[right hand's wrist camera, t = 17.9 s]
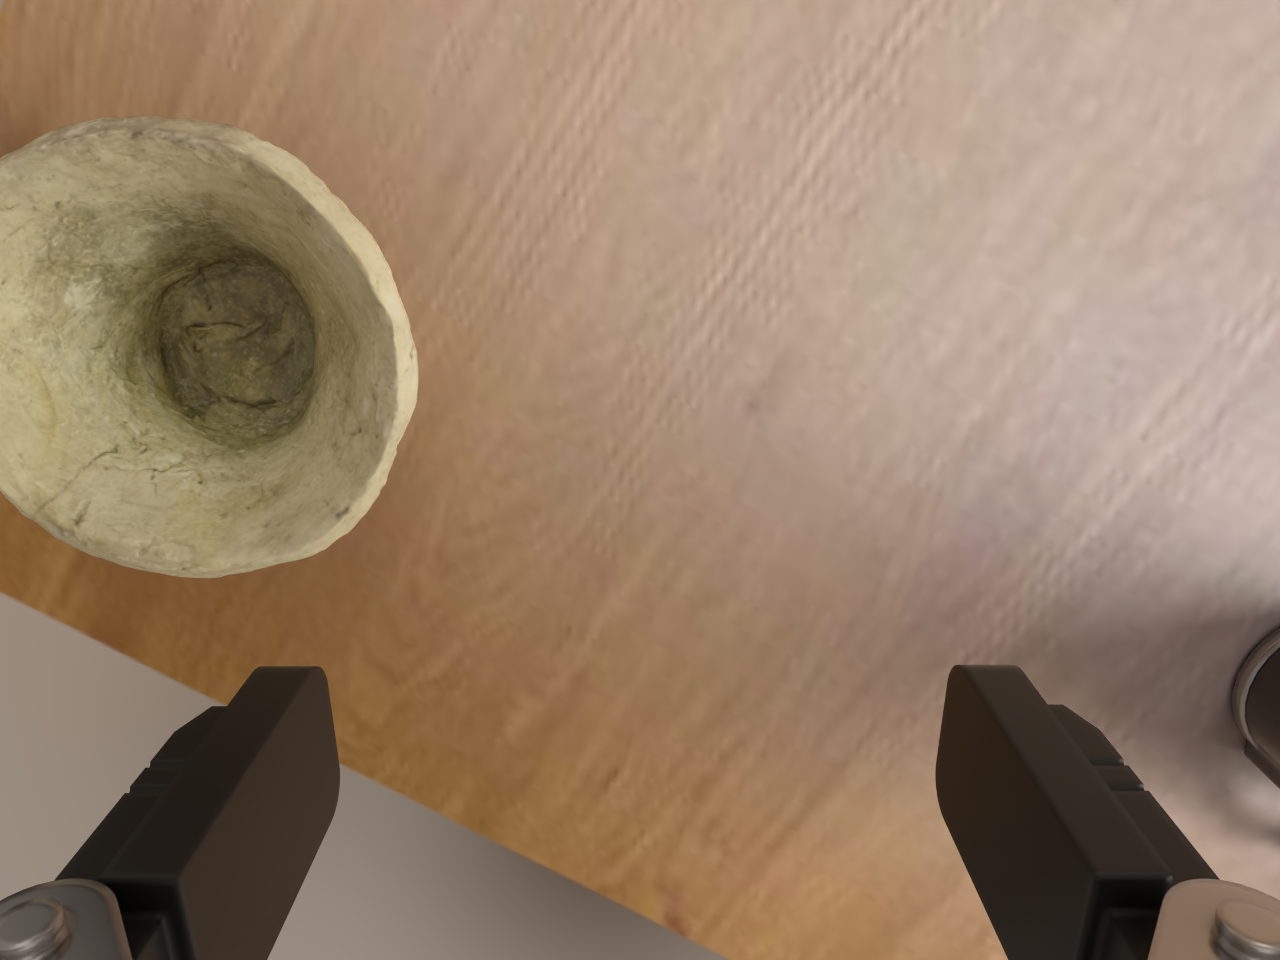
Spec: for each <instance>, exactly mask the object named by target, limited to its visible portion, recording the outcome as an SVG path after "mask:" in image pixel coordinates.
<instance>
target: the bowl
mask: <svg viewBox="0 0 1280 960" xmlns="http://www.w3.org/2000/svg"><path fill="white" fill-rule="evenodd" d="M417 389H418V363H417V351H416V347H415V344H414V341H413V339H412V334H411V330H410V323H409V320H408V317H407V314H406V311H405V309H404V306H403V303H402V301H401V298H400V296H399V294H398V291H397V287H396V284H395V282H394V280H393V277H392V272H391V269H390V267H389V265H388V263H387V262H386V260H385V258H384V256H383V254H382V252H381V250H380V248H379V246H378V244H377V243H376V241H375V240H374V238H373V237H372V235H371V234H370V233H369V231H368V230H367V229H366V228H365V226H364V225H363V224H362V223H361V222H360V221H359V220H358V219H357V218H356V217H355V216H354V215H352V214H351V212H350V211H349V209H348V207H347V206H346V205H345V204H344V203H343V202H342V201H341V200H340V199H339V198H338V197H336V196H335V195H334V194H332V193H331V192H330V191H329V189H328V188H327V186H326V185H325V183H324V182H323V181H322V180H321V179H320V178H318V177H317V176H315V175H314V174H313V173H312V172H311V171H310V170H309V168H308V167H307V166H306V165H305V164H304V163H303V162H301V161H300V160H299V159H298V158H296V157H295V156H293V155H291V154H290V153H288V152H286V151H285V150H283V149H281V148H279V147H276V146H274V145H272V144H271V143H270V142H268V141H264V140H261V139H259V138H257V137H256V136H255V135H253V134H251V133H248V132H246V131H244V130H242V129H240V128H237V127H234V126H231V125H227V124H218V123H212V122H203V121H199V120H194V119H177V118H163V117H158V116H154V117H146V116H137V117H128V118H116V117H111V118H100V119H95V120H90V121H86V122H82V123H77V124H72V125H67V126H64V127H61V128H58V129H56V130H52V131H50V132H48V133H46V134H44V135H42V136H40V137H38V138H36V139H35V140H33V141H32V142H30V143H28V144H26V145H24V146H23V147H22V148H21V149H17V150H15V151H13V152H10V153H7V154H6V155H4V156H3V157H2V158H0V491H1V492H2V493H3V495H4V496H5V497H6V498H7V499H8V500H9V501H10V502H11V503H12V504H13V505H14V506H15V507H16V508H17V509H18V510H19V511H20V512H21V513H22V514H23V515H24V516H26V517H28V518H30V519H32V520H33V521H35V522H37V523H38V524H39V525H40V526H42V527H43V528H44V529H46V530H47V531H48V532H49V533H51V534H52V535H53V536H54V537H56V538H58V539H59V540H62V541H64V542H65V543H67V544H69V545H71V546H73V547H75V548H77V549H79V550H81V551H83V552H85V553H87V554H89V555H92V556H95V557H100V558H103V559H105V560H108V561H111V562H114V563H116V564H118V565H122V566H126V567H130V568H134V569H138V570H144V571H149V572H155V573H161V574H166V575H171V576H178V577H190V578H217V577H222V576H225V575H230V574H237V573H244V572H250V571H254V570H257V569H261V568H266V567H269V566H273V565H276V564H280V563H286V562H290V561H296V560H300V559H304V558H307V557H309V556H313V555H315V554H317V553H318V552H320V551H323V550H325V549H326V548H328V547H329V546H330V545H331V544H332V543H334V542H335V541H336V540H337V539H339V538H340V537H342V536H343V535H345V534H347V533H348V532H349V531H350V530H351V529H352V528H353V527H354V526H355V525H356V524H357V523H358V521H359V520H360V519H361V518H362V517H363V516H364V515H365V514H366V513H367V512H368V510H369V509H370V507H371V506H372V504H373V503H374V501H375V500H376V499H377V497H378V496H379V494H380V490H381V489H382V488H383V486H384V485H385V484H386V481H387V478H388V477H387V475H388V473H389V471H390V469H391V466H392V464H393V461H394V458H395V456H396V455H397V451H396V449H397V445H398V444H399V441H400V440H401V438H402V436H403V434H404V433H405V430H406V427H407V425H408V423H409V421H410V419H411V416H412V414H413V411H414V409H415V406H416V403H417Z"/></svg>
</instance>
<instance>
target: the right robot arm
mask: <svg viewBox="0 0 1280 960" xmlns="http://www.w3.org/2000/svg"><path fill="white" fill-rule="evenodd" d="M1232 710H1233V715H1234V719H1235V722H1236V724H1237V726H1238V728H1239V730H1240V731H1241V733H1242V734H1243V735H1244V737H1245V738H1246V739H1247V746H1246V749H1245V755H1246V756H1247V757H1248V758H1249V759H1250V760H1251V761H1252V762H1253V763H1254V764H1255V765H1256V766H1257V767H1258V768H1259V769H1260V770H1261V771H1262V772H1263V773H1264V774H1265V775H1266V776H1267V777H1268V778H1269V779H1270V780H1271V781H1272V782H1273V783H1274V784H1275V785H1276V786H1277V787H1278V788H1279V789H1280V628H1278V629H1277V630H1275V631H1274V632H1273V633H1271V634H1270V635H1269V636H1268V637H1266V638H1265V639H1264V640H1263V641H1262V642H1261V643H1260V644H1259V645H1258V646H1257V647H1256V648H1255V649H1254V650H1253V652H1252V653H1251V654H1250V655H1249V657H1248V658H1247V660H1246V661H1245V662H1244V664H1243V666H1242V668H1241V669H1240V671H1239V674H1238V676H1237V678H1236V681H1235V685H1234V689H1233V695H1232ZM150 763H151V764H150V768H145V769H144V770H143V772H142V773H141V774H140V775H139V776H138V778H137V779H136V780H135V781H134V783H133V784H132V785H131V786H130V792H129V793H125V794H124V795H123V796H122V797H121V799H120V800H119V801H118V802H117V804H116V805H115V806H114V807H113V809H112V810H111V811H110V812H109V813H108V815H107V816H106V817H105V818H104V820H103V821H102V822H101V823H100V825H99V826H98V827H97V828H96V830H95V831H94V832H93V833H92V834H91V836H90V837H89V838H88V839H87V841H86V842H85V843H84V844H83V846H82V847H81V848H80V849H79V851H78V852H77V853H76V854H75V855H74V857H73V858H72V859H71V860H70V862H69V863H68V864H67V865H66V867H65V868H64V869H63V870H62V872H61V873H60V874H59V875H58V876H57V878H56V879H55V880H54V881H51V882H47V883H43V884H39V885H36V886H33V887H30V888H27V889H24V890H22V891H19V892H17V893H15V894H13V895H11V896H8V897H6V898H4V899H3V900H1V901H0V960H267V959H268V956H269V954H270V952H271V950H272V948H273V946H274V944H275V941H276V939H277V937H278V935H279V933H280V931H281V929H282V926H283V924H284V922H285V920H286V918H287V916H288V913H289V911H290V909H291V907H292V905H293V903H294V901H295V898H296V896H297V894H298V892H299V890H300V888H301V885H302V883H303V881H304V879H305V877H306V875H307V872H308V870H309V868H310V866H311V864H312V862H313V860H314V858H315V855H316V853H317V851H318V849H319V847H320V845H321V843H322V840H323V838H324V836H325V834H326V832H327V830H328V827H329V825H330V823H331V821H332V818H333V816H334V813H335V809H336V805H337V801H338V795H339V786H340V768H339V760H338V753H337V745H336V738H335V731H334V724H333V717H332V710H331V703H330V696H329V689H328V683H327V678H326V675H325V673H324V671H323V669H322V668H320V667H317V666H261V667H258V668H257V669H255V670H254V671H253V673H252V674H251V675H250V676H249V678H248V679H247V680H246V682H245V683H244V684H243V686H242V687H241V688H240V690H239V691H238V692H237V694H236V695H235V696H234V698H233V699H232V700H231V702H230V703H229V704H228V706H212V707H210V708H209V709H207V710H206V711H205V712H203V713H202V714H200V715H199V716H197V717H196V718H194V719H193V720H191V721H190V722H188V723H187V724H185V725H184V726H183V727H181V728H180V729H178V730H177V731H175V732H174V733H173V734H172V736H171V737H170V738H169V739H168V741H167V742H166V743H165V744H164V746H163V747H162V748H161V749H160V751H159V752H158V753H157V754H156V756H155V757H154V758H153V759H152V760H151V762H150ZM936 789H937V796H938V802H939V806H940V810H941V813H942V816H943V818H944V820H945V823H946V825H947V827H948V829H949V831H950V834H951V836H952V838H953V840H954V842H955V844H956V847H957V849H958V851H959V853H960V855H961V857H962V860H963V862H964V864H965V866H966V868H967V871H968V873H969V875H970V877H971V879H972V881H973V884H974V886H975V888H976V890H977V892H978V895H979V897H980V899H981V901H982V903H983V905H984V908H985V910H986V912H987V914H988V916H989V918H990V921H991V923H992V925H993V927H994V929H995V932H996V934H997V936H998V938H999V940H1000V942H1001V945H1002V947H1003V949H1004V951H1005V953H1006V956H1007V958H1008V960H1280V901H1279V900H1277V899H1276V898H1274V897H1272V896H1270V895H1267V894H1265V893H1263V892H1261V891H1258V890H1256V889H1253V888H1250V887H1247V886H1244V885H1241V884H1237V883H1233V882H1229V881H1224V880H1220V879H1219V878H1218V877H1217V876H1216V874H1215V873H1214V872H1213V871H1212V869H1211V868H1210V867H1209V866H1208V864H1207V863H1206V862H1205V861H1204V859H1203V858H1202V857H1201V856H1200V854H1199V853H1198V852H1197V851H1196V849H1195V848H1194V847H1193V846H1192V844H1191V843H1190V842H1189V841H1188V839H1187V838H1186V837H1185V836H1184V834H1183V833H1182V832H1181V831H1180V829H1179V828H1178V827H1177V826H1176V824H1175V823H1174V822H1173V821H1172V819H1171V818H1170V817H1169V816H1168V814H1167V813H1166V812H1165V811H1164V809H1163V808H1162V807H1161V806H1160V805H1159V803H1158V802H1157V801H1156V800H1155V798H1154V797H1153V796H1152V795H1151V793H1150V792H1149V791H1144V788H1143V783H1142V782H1141V781H1140V780H1139V778H1138V777H1137V776H1136V775H1135V773H1134V772H1133V771H1132V770H1131V768H1130V767H1129V766H1124V763H1123V758H1122V757H1121V756H1120V755H1119V753H1118V752H1117V751H1116V750H1115V748H1114V747H1113V746H1112V745H1111V743H1110V742H1109V741H1108V740H1107V738H1106V737H1105V736H1104V735H1103V733H1102V732H1101V731H1100V730H1099V729H1098V728H1096V727H1095V726H1093V725H1092V724H1090V723H1089V722H1087V721H1086V720H1084V719H1083V718H1081V717H1080V716H1079V715H1077V714H1076V713H1074V712H1073V711H1071V710H1070V709H1068V708H1067V707H1065V706H1064V705H1047V703H1046V702H1045V701H1044V699H1043V698H1042V697H1041V695H1040V694H1039V693H1038V691H1037V690H1036V689H1035V687H1034V686H1033V685H1032V683H1031V682H1030V680H1029V679H1028V678H1027V676H1026V675H1025V674H1024V672H1023V671H1022V670H1021V669H1020V668H1019V667H1018V666H1016V665H955V666H954V667H953V668H952V670H951V672H950V674H949V677H948V682H947V689H946V696H945V704H944V711H943V718H942V725H941V732H940V740H939V747H938V754H937V761H936Z"/></svg>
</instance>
